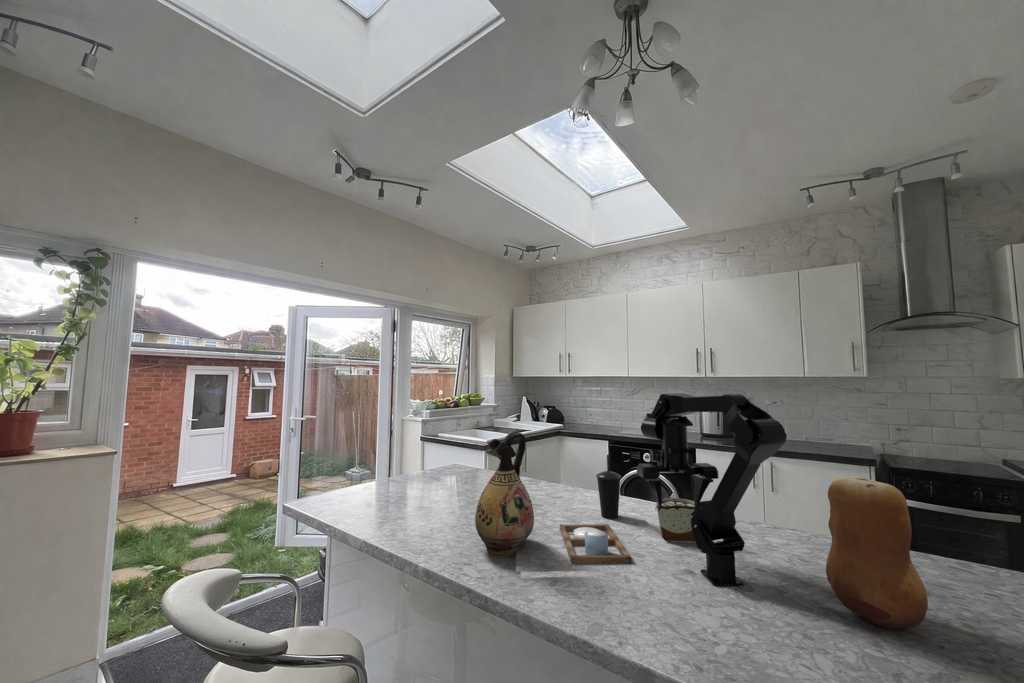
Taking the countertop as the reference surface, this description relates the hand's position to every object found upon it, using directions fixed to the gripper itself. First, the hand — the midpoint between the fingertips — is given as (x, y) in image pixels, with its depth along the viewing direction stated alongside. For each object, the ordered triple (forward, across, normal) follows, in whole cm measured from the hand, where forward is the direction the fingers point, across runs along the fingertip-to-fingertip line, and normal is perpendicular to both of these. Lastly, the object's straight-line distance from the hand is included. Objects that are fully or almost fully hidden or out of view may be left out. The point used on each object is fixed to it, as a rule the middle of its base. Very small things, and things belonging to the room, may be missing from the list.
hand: (678, 506), depth 103 cm
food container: (+12, -4, -12) cm, 18 cm away
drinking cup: (+12, +11, -27) cm, 32 cm away
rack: (+12, +21, -5) cm, 25 cm away
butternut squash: (+12, -24, +28) cm, 39 cm away
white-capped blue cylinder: (+11, +21, 0) cm, 24 cm away
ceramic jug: (+12, +43, -6) cm, 45 cm away
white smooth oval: (+11, +21, -10) cm, 26 cm away
